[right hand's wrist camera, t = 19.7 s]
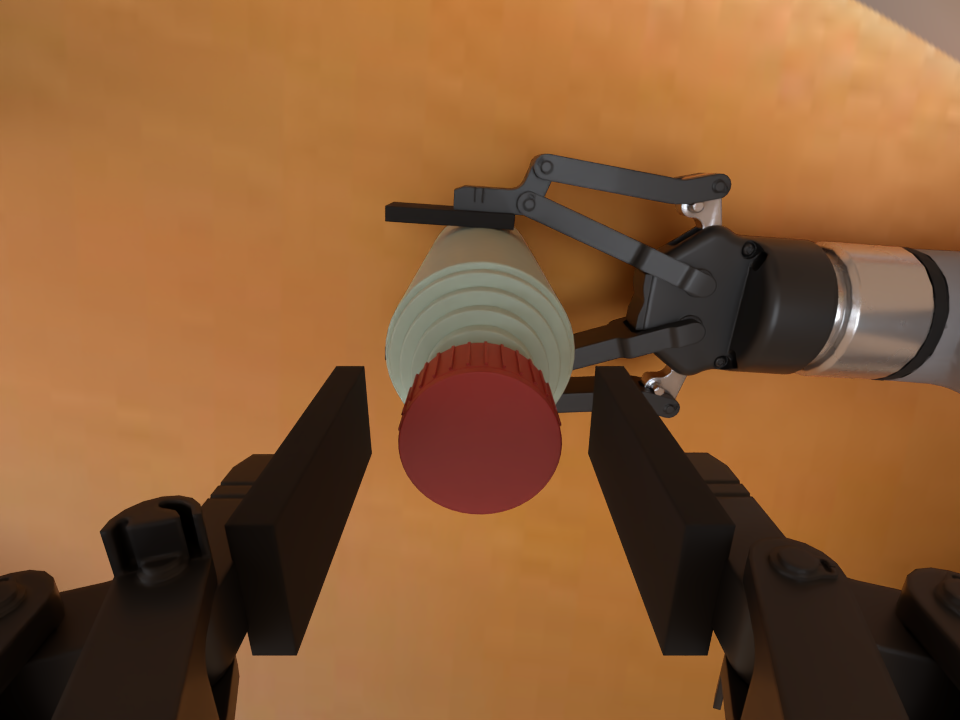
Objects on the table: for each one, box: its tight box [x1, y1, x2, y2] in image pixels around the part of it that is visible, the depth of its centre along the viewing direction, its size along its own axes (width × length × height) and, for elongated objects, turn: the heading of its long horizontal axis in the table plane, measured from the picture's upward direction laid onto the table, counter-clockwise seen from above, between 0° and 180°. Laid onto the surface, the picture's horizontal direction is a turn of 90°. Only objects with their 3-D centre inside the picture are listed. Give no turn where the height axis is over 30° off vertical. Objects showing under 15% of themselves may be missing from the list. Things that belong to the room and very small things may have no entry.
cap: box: [398, 341, 562, 514], centre depth 14 cm, size 4×4×2 cm
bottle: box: [385, 226, 575, 405], centre depth 24 cm, size 7×7×23 cm
